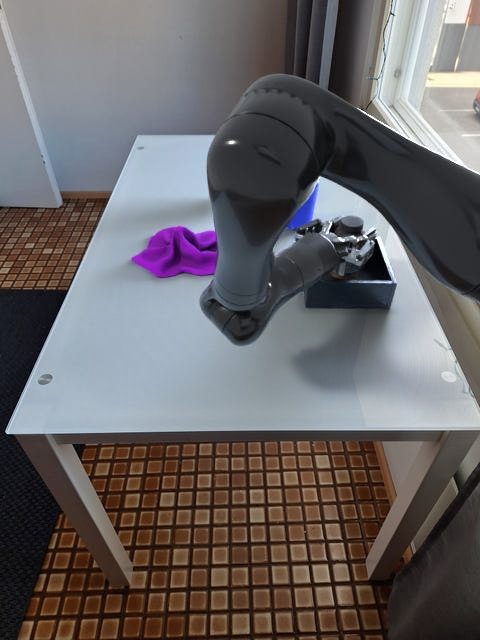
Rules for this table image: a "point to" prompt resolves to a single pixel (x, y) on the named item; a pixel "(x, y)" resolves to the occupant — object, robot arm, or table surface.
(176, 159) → the table surface
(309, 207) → the mug
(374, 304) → the dark open box
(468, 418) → the table surface
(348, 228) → the supplement bottle
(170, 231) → the cloth
